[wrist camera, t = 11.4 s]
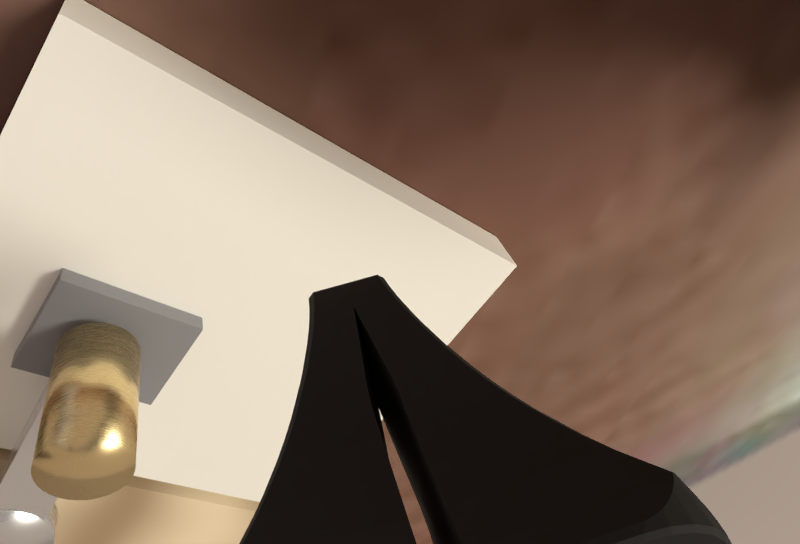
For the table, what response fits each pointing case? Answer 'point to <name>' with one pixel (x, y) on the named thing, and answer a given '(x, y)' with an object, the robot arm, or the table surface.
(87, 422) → the bar
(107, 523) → the beige slab
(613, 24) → the table surface
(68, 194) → the door
